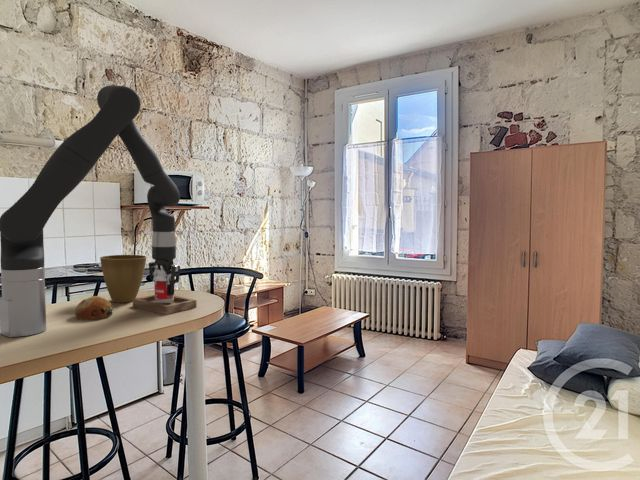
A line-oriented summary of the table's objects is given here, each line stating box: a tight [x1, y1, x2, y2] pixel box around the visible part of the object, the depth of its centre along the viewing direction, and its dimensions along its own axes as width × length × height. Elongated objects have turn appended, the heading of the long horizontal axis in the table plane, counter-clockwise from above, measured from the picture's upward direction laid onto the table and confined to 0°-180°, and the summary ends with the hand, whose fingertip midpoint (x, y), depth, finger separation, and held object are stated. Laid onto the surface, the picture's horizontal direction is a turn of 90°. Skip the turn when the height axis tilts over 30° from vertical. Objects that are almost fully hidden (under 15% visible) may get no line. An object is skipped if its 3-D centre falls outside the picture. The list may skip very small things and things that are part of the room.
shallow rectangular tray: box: [132, 294, 197, 316], centre depth 137 cm, size 12×18×2 cm, turn 57°
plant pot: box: [99, 254, 147, 304], centre depth 144 cm, size 15×15×16 cm
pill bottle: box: [154, 270, 175, 303], centre depth 136 cm, size 6×6×11 cm
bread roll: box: [74, 295, 114, 321], centre depth 124 cm, size 10×10×8 cm
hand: (164, 293), depth 136 cm, fingers closed on pill bottle, 6 cm apart
